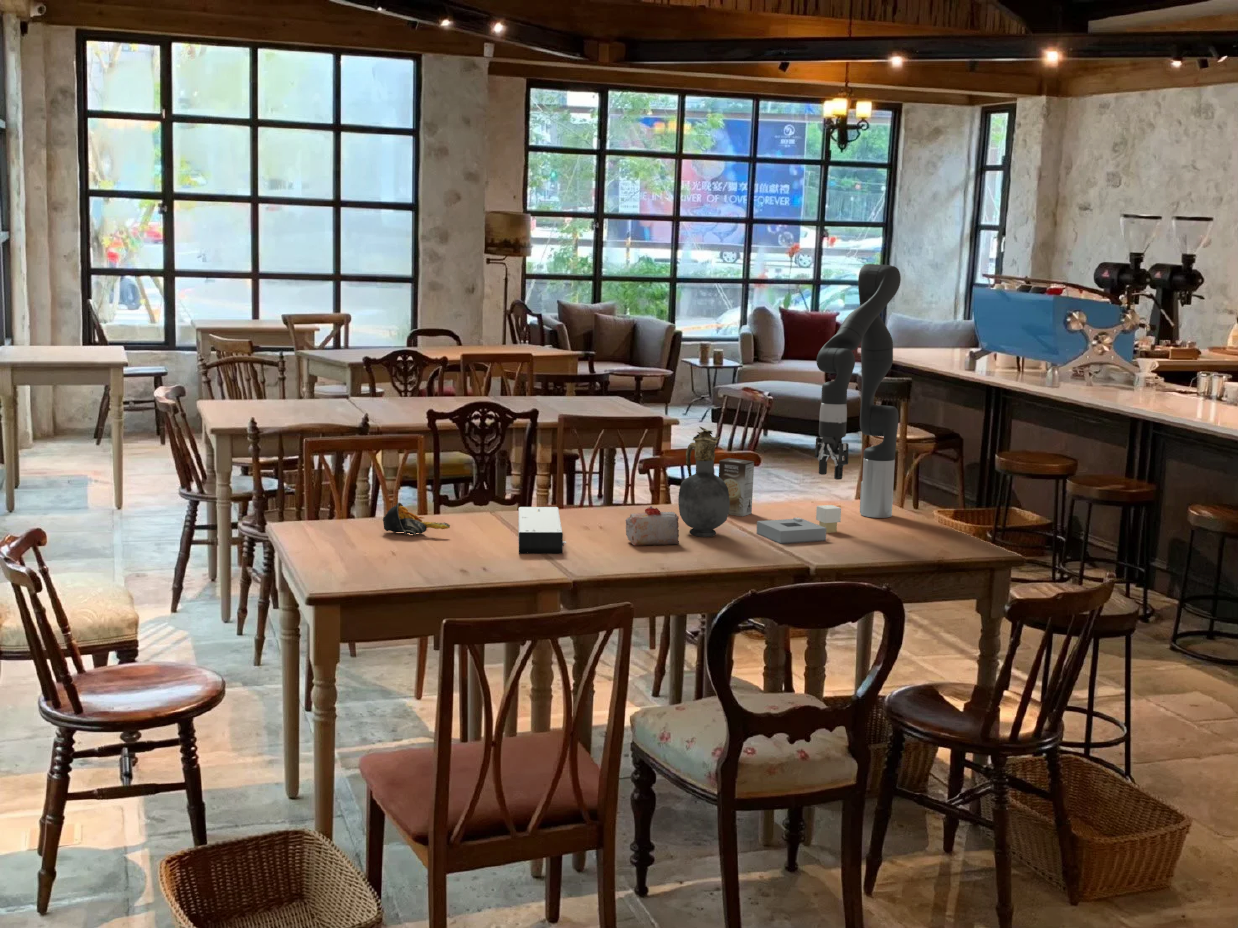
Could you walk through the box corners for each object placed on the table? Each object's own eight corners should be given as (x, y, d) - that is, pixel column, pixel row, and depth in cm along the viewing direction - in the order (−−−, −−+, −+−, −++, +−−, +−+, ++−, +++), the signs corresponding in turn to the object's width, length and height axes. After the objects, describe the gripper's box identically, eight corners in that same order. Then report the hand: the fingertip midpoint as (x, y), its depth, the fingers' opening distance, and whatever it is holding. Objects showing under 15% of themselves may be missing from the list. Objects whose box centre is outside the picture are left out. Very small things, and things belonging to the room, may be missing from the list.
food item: (630, 547, 350) (631, 510, 349) (623, 541, 358) (624, 505, 356) (680, 546, 353) (681, 509, 352) (672, 539, 361) (673, 504, 359)
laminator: (518, 528, 373) (518, 506, 372) (562, 528, 374) (562, 506, 373) (518, 555, 340) (518, 532, 339) (566, 555, 341) (567, 532, 340)
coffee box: (715, 513, 399) (717, 460, 396) (725, 509, 404) (727, 457, 401) (743, 516, 394) (745, 463, 391) (753, 513, 399) (754, 460, 396)
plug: (815, 530, 377) (816, 505, 376) (830, 529, 379) (832, 504, 378) (824, 533, 372) (825, 509, 371) (840, 532, 374) (841, 508, 373)
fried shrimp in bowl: (386, 511, 367) (447, 493, 366) (394, 549, 365) (456, 531, 363) (374, 505, 359) (437, 486, 357) (383, 544, 356) (446, 525, 354)
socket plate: (756, 533, 371) (757, 519, 370) (800, 530, 376) (801, 516, 375) (780, 543, 358) (780, 529, 357) (825, 540, 363) (826, 526, 362)
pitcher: (697, 541, 359) (700, 431, 354) (668, 527, 376) (670, 422, 372) (733, 538, 363) (736, 430, 358) (702, 525, 380) (706, 421, 376)
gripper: (808, 416, 376) (806, 473, 378) (834, 422, 362) (831, 481, 365) (831, 416, 378) (829, 472, 381) (858, 422, 365) (855, 480, 368)
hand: (830, 476), depth 373 cm, fingers open, 8 cm apart
